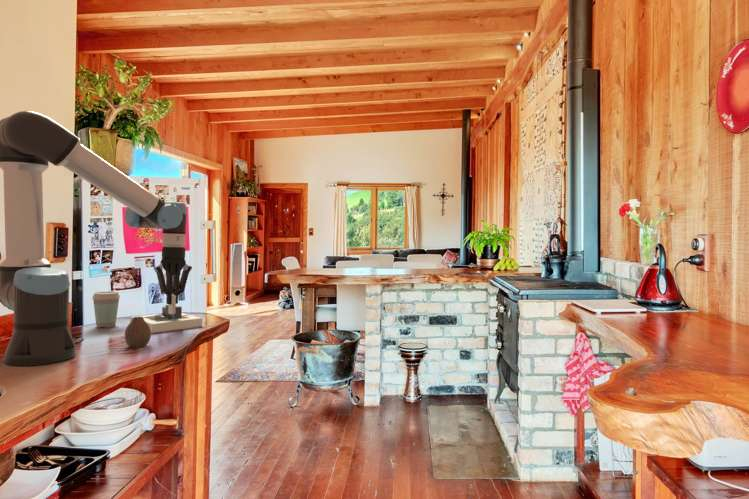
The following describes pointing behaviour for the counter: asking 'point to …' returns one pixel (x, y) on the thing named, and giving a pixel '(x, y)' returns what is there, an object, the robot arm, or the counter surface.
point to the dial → (166, 316)
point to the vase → (137, 333)
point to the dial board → (171, 323)
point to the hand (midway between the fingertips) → (171, 313)
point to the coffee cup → (106, 308)
